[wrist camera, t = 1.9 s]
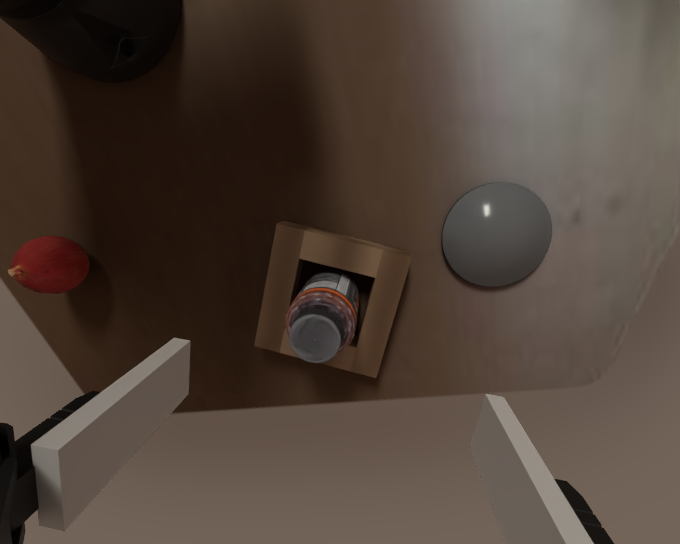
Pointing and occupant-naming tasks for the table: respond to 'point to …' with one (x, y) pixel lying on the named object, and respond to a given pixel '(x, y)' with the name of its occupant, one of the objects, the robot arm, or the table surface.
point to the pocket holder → (341, 253)
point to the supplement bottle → (323, 316)
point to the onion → (50, 265)
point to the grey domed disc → (496, 234)
